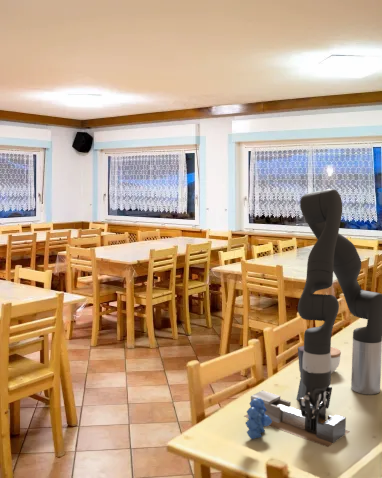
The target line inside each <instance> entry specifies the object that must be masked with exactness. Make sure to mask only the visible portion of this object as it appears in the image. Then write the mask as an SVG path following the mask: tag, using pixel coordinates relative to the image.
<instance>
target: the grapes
mask: <svg viewBox="0 0 382 478" xmlns="http://www.w3.org/2000/svg"><path fill="white" fill-rule="evenodd" d="M249 405H250V407H249V408H248V409H247V410H246V413H247V414H248V415H249V416H248V418H247V420H246V422H245V425H246V427H247V428H248V429H247V431H246V433H247V435H248V437H249V439H251V440H254V439H258V438H262V437H263V436H262V435H263V433H265V432H266V431H265V427H268V426H269V425H270V424H271V423H272V420H271V419H270V417H269V416H268V415H265V412H266V408H265V406H264V402H263V400H262V399H261V398H256V399H253V400H252V401H251V400H250V402H249ZM247 414H246V415H247Z"/></svg>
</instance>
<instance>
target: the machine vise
mask: <svg viewBox="0 0 382 478" xmlns="http://www.w3.org/2000/svg"><path fill="white" fill-rule="evenodd" d="M256 398H261V399H262V400H263V402H264V406H265V408H266V412H265V415H268V416H269V417H270V419H271V420H272V423H271V424H270V425H269V426H270V427H272V428H274V429H277V430H280V431H283V432H285V433H288V434H291V435H294V436H296V437H299V438H302V439H305V440H308V441H309V442H313V443H316V444H319V445H321V446H324V447H327V448H329V447H330V446H331V445H333V444H334V443H330V442H328V441H325V440H322V439H319V438H316V437H317V434H314V433H311V432H308V431H305V430H304V429H301V428H299V427H296V426H293V425H290V424H287V423H284V422H282V421H281V407H279V406H276V405H277V404H279V403H280V404H283V405H286V406H289V407H291V404H292V403H291V401H289V400H286V399H282V398H281V395H278V394H275V393H272V392H269V391H266V390H264V389H263V390H260V391H258V392H256V393H254V394H251V395H250V402H251V401H252V400H253V399H256ZM248 416H249V415H248V414H245V415H244V416H243V417H244V418H246V419H248ZM348 433H350V430H347V429H346V430H345V435H344V436H346V435H347V434H348ZM339 440H340V439H338V440H337V441H339Z"/></svg>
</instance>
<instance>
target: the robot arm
mask: <svg viewBox="0 0 382 478" xmlns="http://www.w3.org/2000/svg"><path fill="white" fill-rule="evenodd" d="M341 197H342V196H341V195H340V193H339V192H338V191H337V189H334V188H329V189H323V190H318V191H317V190H316V191H313V192H308V193H305V194H304V195H302V196H301V198H300V199H299V200H300V202H299V206H300V210H301V214H302V216H303V219H304V221H305V222H306V224H307V225H308V227H309V228H310V231H312V233H313V235H314V236H315V238H316V240H317V241H316V242H315V243H314V245H313V247H312V248H311V250H310V252H309V254H308V257H307V265H306V279H305V284H304V288H303V290H302V293H301V295H300V298H299V300H298V304H297V313H298V316H299V317H300V318H301V319H303V320H306V321H317V322H318V321H319V322H320V321H321V322H322V321H323V324H322V325H319V326H317V327H316V326H315V327H310V328H307V329H305V331H304V332H303V333H304V334H303V346H304V353H303V365H302V383H303V384H304V385H305V386H306V392H305V397H304V398H301V397H300V398H299V401H298V404H299V408H300V409H299V410H301V415H302V417H306V418H307V430H308V431H311V432H314V431H315V415H316V411H317V409H318V407H319V404H321V405H326V410H327V409H329V407H330V402H331V397H332V393H333V387H332V386H331V382H332V381H331V379H332V377H331V376H332V375H331V374H332V373H331V347H332V345H331V344H332V333H333V328H334V326H335V322H336V320H337V316H338V314H339V309H340V303H339V301H338V298H336V296H334V295H332V294H324V293H315V292H318V291H323V290H327V289H329V288H331V287H332V285H333V283H334V282H333V281H334V276H335V278H336V280H337V281H338V284H339V286H340V289H341V290H342V291H341V292H342V295H343V297H344V300H345V303H346V306H347V309H348V310H349V312H350V313H351V315H352V316H353V317H356V318H358V319H359V318H360V319H362V320H367V322H366V326H361V327H356V328H355V329H354V330H353V331H352V353H351V354H352V355H351V358H352V359H351V380H350V381H351V383H350V385H351V386H350V388H351V390H352V391H354V392H355V393H359V394H362V395H376V394H379V393H380V392H381V379H382V378H381V377H382V293H380V292H376V291H369V290H364V289H362V287H361V286H360V284H359V282H358V278H359V275H360V272H361V270H362V259H361V257H360V255H359V253H358V251H357V248H356V246H355V245H354V243H353V242H352V241H351V240H349V239H348V238H347V237H345V236H343V235H342V234H340V233H339V231H340V226H341V221H342V215H343V201H342V198H341ZM310 404H311V405H315V407H314V406H310ZM311 410H312V414H311ZM305 411H306V412H305Z"/></svg>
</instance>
